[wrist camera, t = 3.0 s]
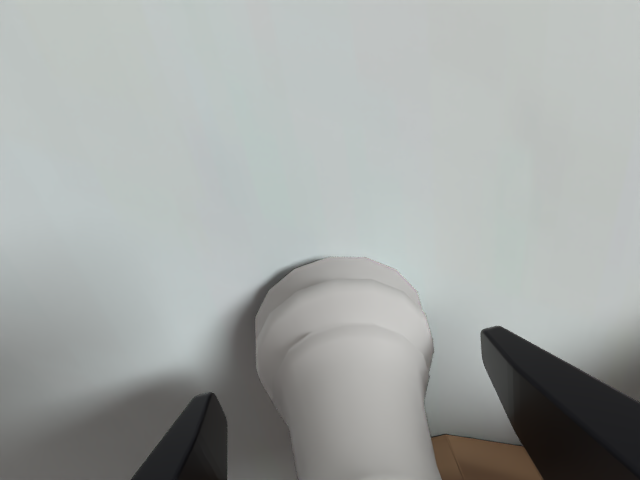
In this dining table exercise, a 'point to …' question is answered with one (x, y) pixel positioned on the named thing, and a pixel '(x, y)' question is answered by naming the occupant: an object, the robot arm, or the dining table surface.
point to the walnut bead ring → (481, 460)
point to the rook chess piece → (349, 370)
